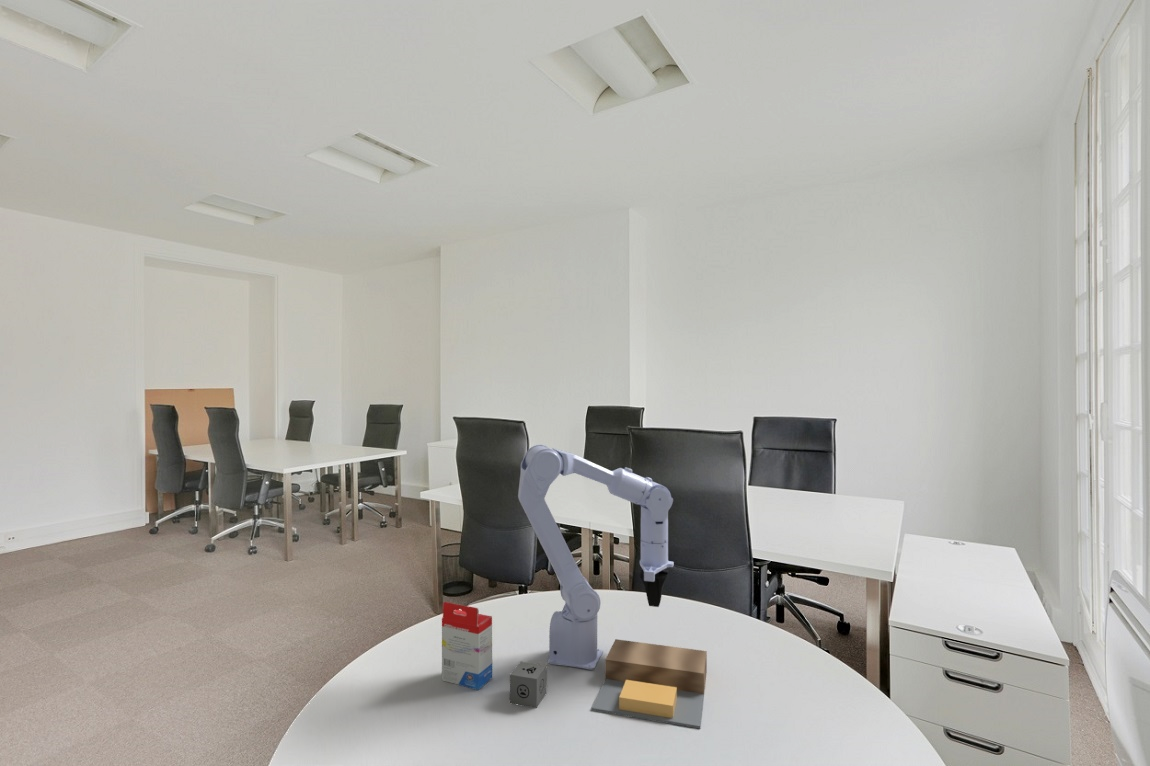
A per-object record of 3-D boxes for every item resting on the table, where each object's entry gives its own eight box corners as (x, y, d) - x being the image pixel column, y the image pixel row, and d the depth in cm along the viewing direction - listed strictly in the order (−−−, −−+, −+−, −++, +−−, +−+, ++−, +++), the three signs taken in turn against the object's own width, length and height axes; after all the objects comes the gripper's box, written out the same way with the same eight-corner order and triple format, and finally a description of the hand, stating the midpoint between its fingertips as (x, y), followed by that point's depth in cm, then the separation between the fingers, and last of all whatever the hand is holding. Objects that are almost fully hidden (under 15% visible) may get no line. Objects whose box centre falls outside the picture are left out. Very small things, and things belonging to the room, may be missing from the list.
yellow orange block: (626, 679, 99) (626, 691, 99) (619, 697, 93) (619, 709, 93) (676, 687, 96) (676, 698, 96) (672, 705, 90) (672, 718, 90)
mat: (591, 710, 93) (591, 707, 93) (606, 678, 104) (606, 676, 104) (700, 728, 88) (700, 726, 88) (704, 693, 99) (704, 691, 99)
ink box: (493, 678, 104) (493, 600, 104) (478, 691, 99) (478, 609, 100) (456, 669, 107) (457, 593, 108) (440, 680, 103) (440, 601, 103)
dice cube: (536, 708, 94) (536, 678, 94) (509, 703, 95) (509, 674, 95) (546, 693, 99) (546, 665, 99) (520, 689, 100) (520, 661, 100)
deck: (605, 681, 103) (605, 659, 103) (615, 659, 111) (615, 639, 112) (703, 696, 98) (703, 673, 98) (706, 672, 106) (706, 651, 106)
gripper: (669, 550, 108) (669, 621, 107) (677, 533, 122) (677, 595, 121) (633, 548, 110) (633, 616, 109) (645, 531, 124) (645, 592, 123)
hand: (654, 605), depth 115 cm, fingers closed
